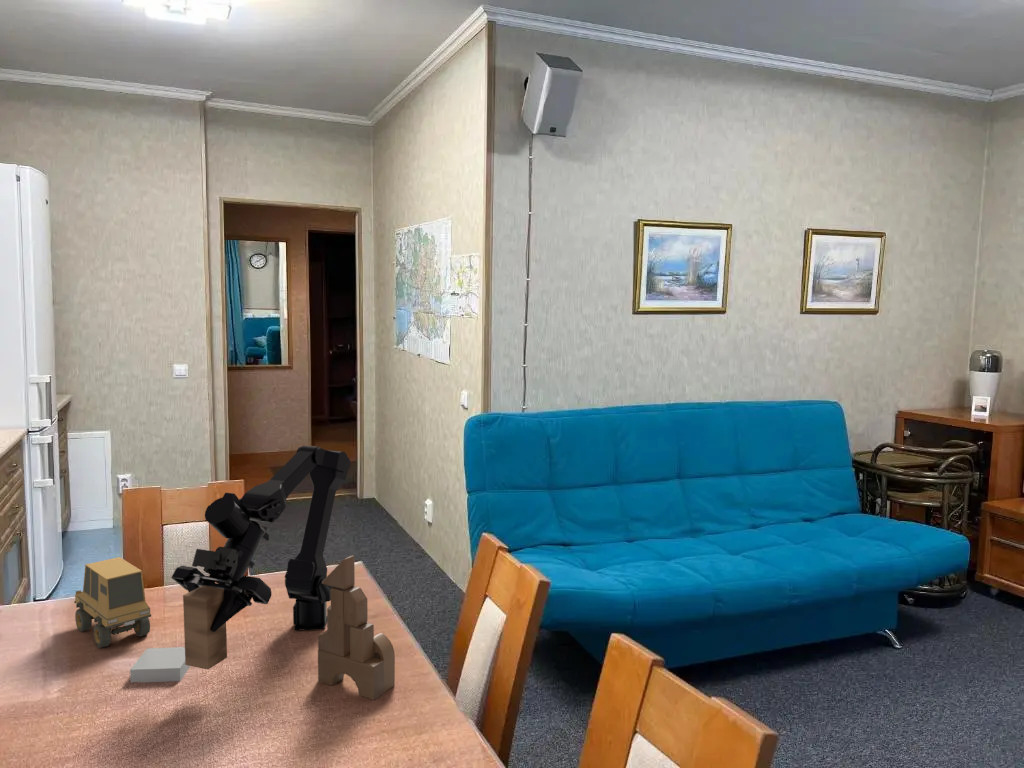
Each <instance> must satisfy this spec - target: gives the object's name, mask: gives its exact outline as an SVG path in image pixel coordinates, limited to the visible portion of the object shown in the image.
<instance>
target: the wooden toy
mask: <svg viewBox="0 0 1024 768" xmlns="http://www.w3.org/2000/svg"><path fill="white" fill-rule="evenodd" d="M355 568H356V567H355V556H354V555H350V556H347V557H345V558H343V560H342V561H341V562H340V563H338V564H337V566H335V568H334V569H333V570H332V571H331V572H330V573H329V574H328V575H327V577H326V578H325V579H324V580H323V581H322V584H324V585H328V586H332V587H333V588H331V601H330V605H329V606H328V607H327V623H326V625H327V626H326V629H327V630H325V631H323V632H321V633H319V634H318V635H317V648H318V649H317V679H318V682H321V683H323V684H326V685H329V686H334V685H336V684H337V683H339V682H341V681H343V680H344V676H345V675H346V676H348V677H350V678H351V679H352V681H353V682H355V683H354V684H355V685H356V688H357V692H358V696H360V697H362V698H366V699H370V700H372V701H374V700H376V699H378V698H379V697H381V696H382V695H384V694H385V692H387V691H388V690H390V689H392V688H393V687H394V686H396V685H395V680H396V676H395V675H396V674H395V673H396V669H395V668H396V662H395V661H396V659H395V658H396V656H395V650H394V645H393V643H392V641H391V640H390V639H389V638H388V637H387V635H385V633H383V632H380V633H377V634H376V635H374V632H375V628H374V627H375V625H374V624H373V623H371V622H368V620H369V618H368V614H369V613H368V610H369V609H368V608H369V607H368V597H367V595H366V594H365V593H364V591H363V589H362V588H361V586H357V585H356V584H355V580H356V579H355V573H356V572H355Z"/></svg>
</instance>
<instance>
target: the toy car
mask: <svg viewBox="0 0 1024 768" xmlns="http://www.w3.org/2000/svg"><path fill="white" fill-rule="evenodd" d="M83 574H84V577H83V584H82V585H83V586H82V590H81V589H80V590H76V591H75V594H74V602H73V603H74V604H76V605H75V606H76V611H75V614H74V618H75V624H76V628H77V630H78V631H79V632H81V633H82V631H83V632H86V631H89V630H91V629H92V626H93V621H94V623H96V624H94V626H93V629H92V630H93V631H92V632H93V640H94V643H95V645H96V646H97V648H100V649H101V648H104V647H106V648H107V647H108V646H110V645H111V643H112V635H113V636H114V635H119V634H121V633H125V632H127V633H128V631H131V630H134V633H135V634H136V635H135V636H137V637H143V636H146V635H148V634H149V633H150V631H151V622H150V618H151V617H152V614H151V608H150V606H149V605H148V603H147V602H146V593H145V585H144V577H143V570H142V569H139V568H138V567H137V566H135V565H133V564H132V563H130V562H129V561H127V560H125V559H124V558H122V557H120V556H119V557H113V558H108V559H105V560H100V561H96V562H91V563H86V564H84V573H83ZM77 608H78V609H77ZM118 626H120V627H118ZM115 627H116V628H115Z"/></svg>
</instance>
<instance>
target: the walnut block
mask: <svg viewBox="0 0 1024 768" xmlns="http://www.w3.org/2000/svg"><path fill="white" fill-rule="evenodd" d="M182 597H183V598H182V600H183V601H182V604H183V629H184V630H183V631H184V633H183V634H184V635H183V636H184V647H185V665H188V666H190V667H193V668H194V667H195V668H198V669H202V670H203V669H204V670H207V671H208V670H210V669H212V668H213V667H215V666H216V665H218V664H219V663H221V662H223V661H224V660H225V659H227V658H228V641H227V622H226V623H225V624H223V625H222V626H221V627H220V628H219V629H218V630H216V631H215V632H212V631H211V630H210V628H211V626H212V623H213V620H214V618H215V616H216V614H217V612H218V610H219V608H220V606H221V604H222V602H223V599H224V589H220V588H214V587H208V586H201V587H199V588H197V589H195V590H193V591H191V592H187V593H184V594H183V595H182Z"/></svg>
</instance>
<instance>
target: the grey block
mask: <svg viewBox="0 0 1024 768" xmlns="http://www.w3.org/2000/svg"><path fill="white" fill-rule="evenodd" d="M190 667H191V666H188V665H185V646H181V647H179V646H177V647H176V646H175V647H150V648H149V647H147V648H146V649H145V650H144V652H143V653H142V654H141V655H140V657H139V658H138V659H137V660H136V662H134V664H133V665H132V667H131V668H130V669H129V675H130V677H129V678H130V684H133V682H138V684H139V682H140V683H158V682H159V683H164V682H167V683H168V682H169V683H170V682H181V681H182V680H183V678H185V676H186V674H187V672H188V671H189V669H190Z"/></svg>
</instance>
